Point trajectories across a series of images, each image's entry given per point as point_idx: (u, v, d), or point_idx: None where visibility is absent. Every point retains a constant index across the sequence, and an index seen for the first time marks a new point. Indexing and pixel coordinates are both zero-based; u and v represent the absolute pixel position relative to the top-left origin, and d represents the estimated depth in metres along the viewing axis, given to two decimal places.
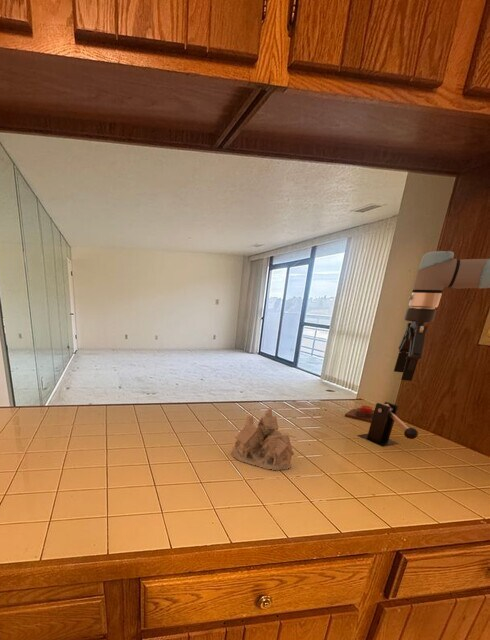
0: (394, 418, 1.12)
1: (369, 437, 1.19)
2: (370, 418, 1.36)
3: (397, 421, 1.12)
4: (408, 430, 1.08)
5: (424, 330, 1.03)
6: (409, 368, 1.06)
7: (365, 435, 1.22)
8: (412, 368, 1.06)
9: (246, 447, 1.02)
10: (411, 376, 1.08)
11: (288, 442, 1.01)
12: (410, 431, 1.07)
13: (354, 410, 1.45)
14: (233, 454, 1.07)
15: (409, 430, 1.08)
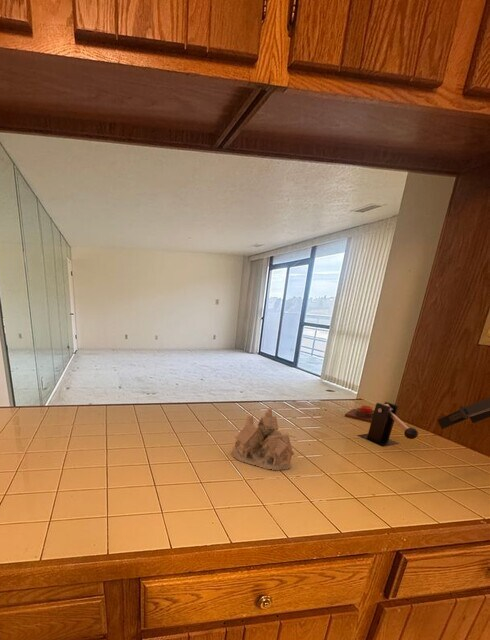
0: (394, 418, 1.12)
1: (369, 437, 1.19)
2: (370, 418, 1.36)
3: (397, 421, 1.12)
4: (408, 430, 1.08)
5: None
6: (450, 417, 0.90)
7: (365, 435, 1.22)
8: (452, 419, 0.90)
9: (246, 447, 1.02)
10: (446, 425, 0.93)
11: (288, 442, 1.01)
12: (410, 431, 1.07)
13: (354, 410, 1.45)
14: (233, 454, 1.07)
15: (409, 430, 1.08)
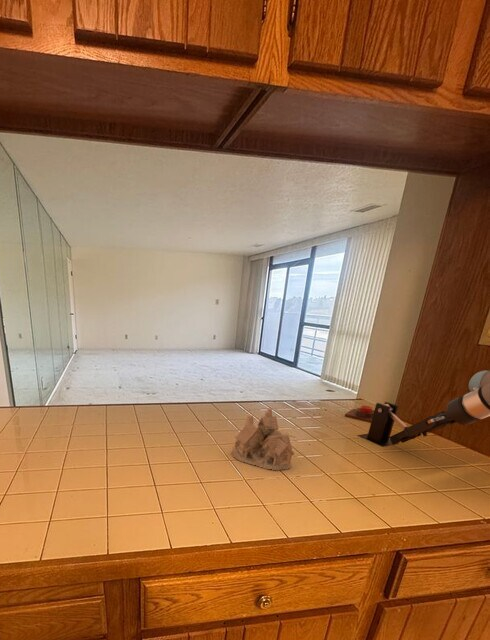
0: (394, 418, 1.12)
1: (369, 437, 1.19)
2: (370, 418, 1.36)
3: (397, 421, 1.12)
4: None
5: (430, 424, 0.97)
6: (398, 435, 1.09)
7: (365, 435, 1.22)
8: (399, 437, 1.08)
9: (246, 447, 1.02)
10: (395, 442, 1.11)
11: (288, 442, 1.01)
12: None
13: (354, 410, 1.45)
14: (233, 454, 1.07)
15: None
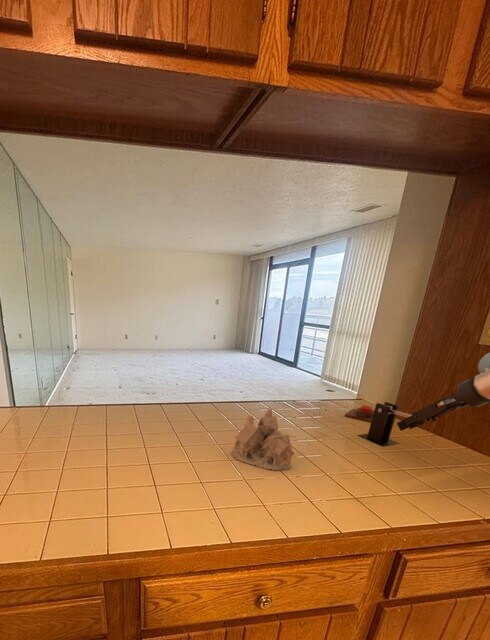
0: (397, 413, 1.11)
1: (369, 437, 1.19)
2: (370, 418, 1.36)
3: (401, 414, 1.10)
4: None
5: (440, 407, 0.94)
6: (406, 420, 1.06)
7: (365, 435, 1.22)
8: (408, 422, 1.05)
9: (246, 447, 1.02)
10: (403, 427, 1.08)
11: (288, 442, 1.01)
12: None
13: (354, 410, 1.45)
14: (233, 454, 1.07)
15: None
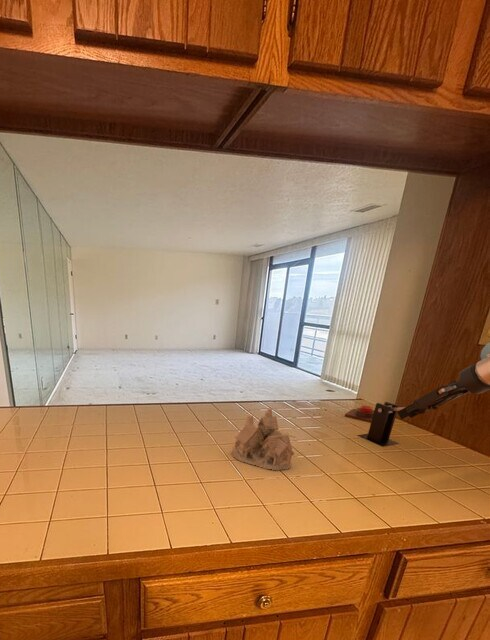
0: (397, 409, 1.11)
1: (369, 437, 1.19)
2: (370, 418, 1.36)
3: None
4: None
5: (441, 394, 0.94)
6: (407, 409, 1.05)
7: (365, 435, 1.22)
8: (408, 411, 1.05)
9: (246, 447, 1.02)
10: (404, 416, 1.07)
11: (288, 442, 1.01)
12: None
13: (354, 410, 1.45)
14: (233, 454, 1.07)
15: None
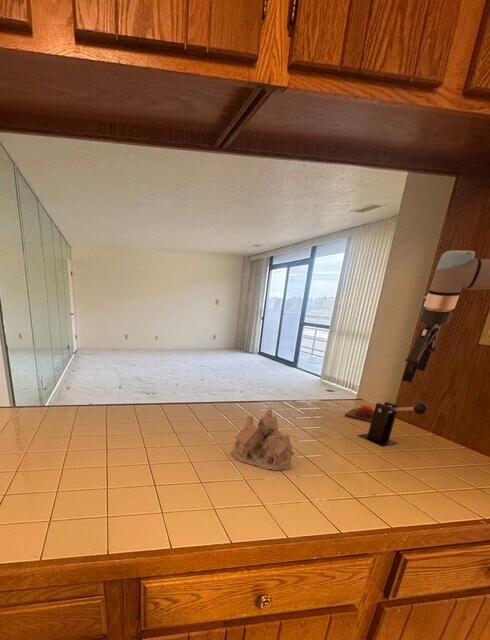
0: (397, 409, 1.11)
1: (369, 437, 1.19)
2: (370, 418, 1.36)
3: (401, 409, 1.10)
4: (415, 406, 1.05)
5: (426, 334, 1.02)
6: (408, 370, 1.08)
7: (365, 435, 1.22)
8: (410, 370, 1.08)
9: (246, 447, 1.02)
10: (411, 378, 1.09)
11: (288, 442, 1.01)
12: (417, 405, 1.04)
13: (354, 410, 1.45)
14: (233, 454, 1.07)
15: (416, 405, 1.05)
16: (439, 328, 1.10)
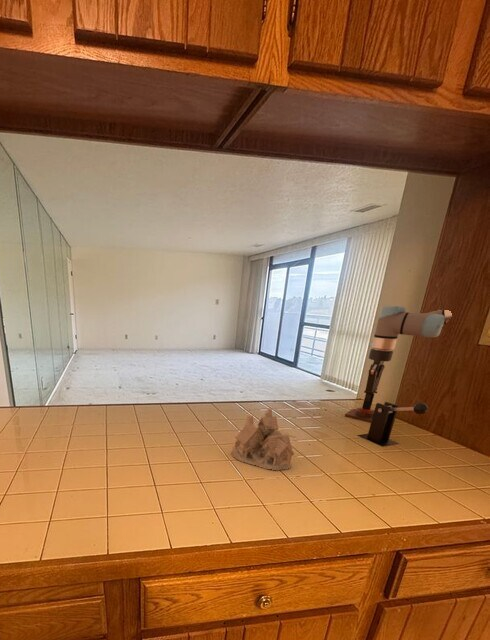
0: (397, 409, 1.11)
1: (369, 437, 1.19)
2: (370, 418, 1.36)
3: (401, 409, 1.10)
4: (415, 406, 1.05)
5: (374, 374, 1.29)
6: (366, 400, 1.37)
7: (365, 435, 1.22)
8: (368, 400, 1.36)
9: (246, 447, 1.02)
10: (369, 406, 1.38)
11: (288, 442, 1.01)
12: (417, 405, 1.04)
13: (354, 410, 1.45)
14: (233, 454, 1.07)
15: (416, 405, 1.05)
16: (382, 371, 1.36)
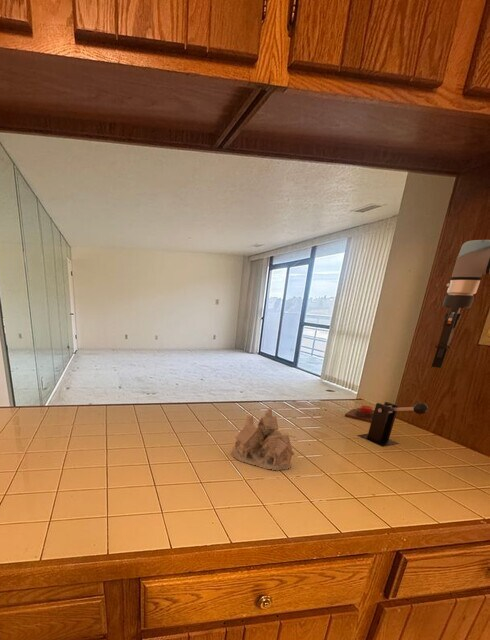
0: (397, 409, 1.11)
1: (369, 437, 1.19)
2: (370, 418, 1.36)
3: (401, 409, 1.10)
4: (415, 406, 1.05)
5: (452, 322, 1.11)
6: (437, 356, 1.19)
7: (365, 435, 1.22)
8: (440, 356, 1.18)
9: (246, 447, 1.02)
10: (440, 363, 1.20)
11: (288, 442, 1.01)
12: (417, 405, 1.04)
13: (354, 410, 1.45)
14: (233, 454, 1.07)
15: (416, 405, 1.05)
16: None
